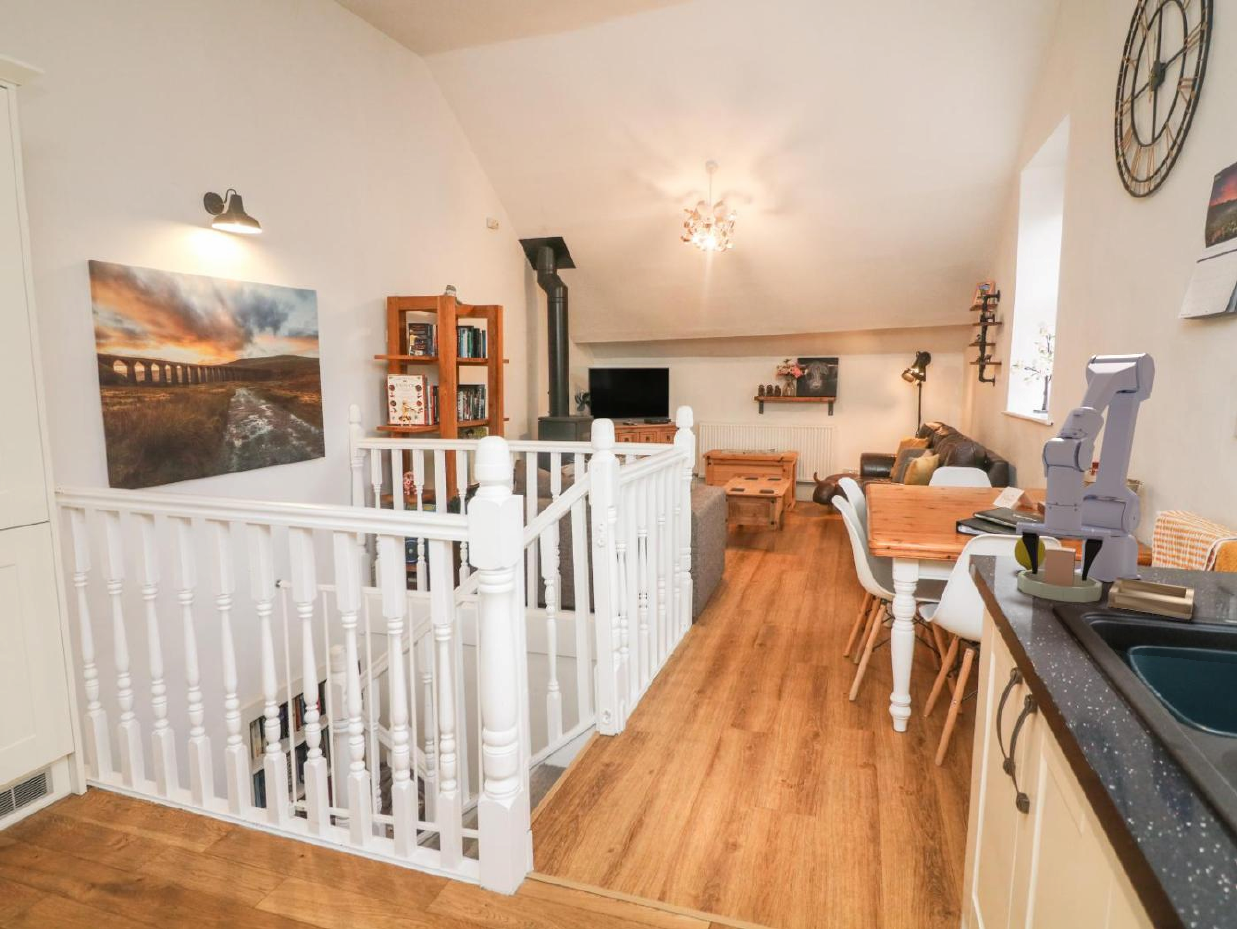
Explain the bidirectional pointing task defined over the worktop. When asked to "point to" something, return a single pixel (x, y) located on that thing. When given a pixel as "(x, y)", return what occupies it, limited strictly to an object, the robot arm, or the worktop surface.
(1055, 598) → the ceramic ring
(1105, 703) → the worktop surface
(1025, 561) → the lemon
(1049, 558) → the pink block
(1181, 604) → the birch tray
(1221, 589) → the worktop surface
